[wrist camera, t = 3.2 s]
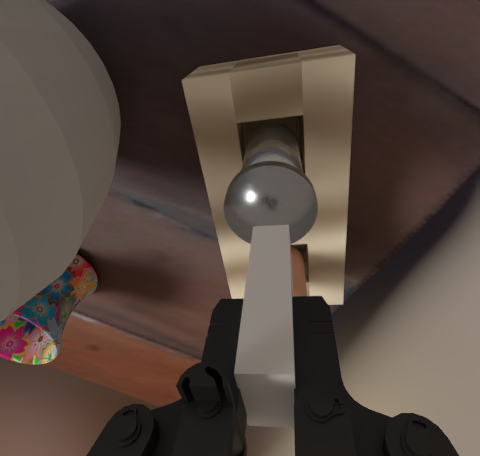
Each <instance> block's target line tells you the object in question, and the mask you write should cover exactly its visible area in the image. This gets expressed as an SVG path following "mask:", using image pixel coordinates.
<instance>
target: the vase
mask: <svg viewBox="0 0 480 456" xmlns="http://www.w3.org/2000/svg"><path fill="white" fill-rule="evenodd" d="M120 130H121V119H120V109H119V103H118V100H117V96H116V93H115V89H114V85H113V83H112V81H111V79H110V77H109V74H108V72H107V70H106V68H105V66H104V64H103V62H102V61H101V59H100V57H99V56H98V54H97V53H96V51H95V50H94V48H93V47H92V45H91V44H90V42H89V41H88V40H87V39H86V38H85V37H84V35H83V34H82V33H81V32H80V31H79V30H78V29H77V28H76V26H75V25H74V24H73V23H72V22H71V21H70V20H68V19H67V18H66V17H65V16H64V15H63V14H61V13H60V12H59V11H58V10H57V9H55V8H54V7H53V6H52V5H50V4H49V3H48V2H46V1H45V0H0V322H1V321H2V320H4V319H5V318H6V317H8V316H9V315H10V314H12V313H13V312H14V311H15V310H17V309H18V308H19V307H21V306H22V305H23V304H25V303H26V302H27V301H28V300H30V299H31V298H32V297H34V296H35V295H36V294H38V293H39V292H40V291H42V290H43V289H44V288H45V287H47V286H48V285H49V284H51V283H52V282H53V281H55V280H56V279H57V278H58V277H60V276H61V275H62V274H63V273H64V271H65V270H66V269H67V267H68V266H69V264H70V263H71V262H72V260H73V259H74V258H75V256H76V254H77V252H78V250H79V248H80V246H81V244H82V243H83V241H84V239H85V237H86V235H87V233H88V231H89V229H90V227H91V226H92V224H93V222H94V220H95V218H96V216H97V214H98V212H99V210H100V208H101V207H102V205H103V203H104V201H105V199H106V197H107V195H108V192H109V189H110V186H111V183H112V181H113V178H114V172H115V166H116V159H117V153H118V147H119V140H120Z"/></svg>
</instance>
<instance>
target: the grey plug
mask: <svg viewBox="0 0 480 456" xmlns="http://www.w3.org/2000/svg"><path fill="white" fill-rule="evenodd" d="M317 213H318V203H317V198H316V193H315V189H314V187H313V184H312V183H311V181H310V179H309V178H308V177H307V176H306V175H305V174H304V173H303V172H302V165H301V159H300V152H299V145H298V140H297V138H296V135H295V134H294V132H293V131H292V130H291V129H290V128H288V127H287V126H285V125H283V124H280V123H266V124H263V125H261V126H259V127H258V128H256V129H255V130H254V131H253V132H252V134H251V135H250V137H249V139H248V143H247V147H246V151H245V156H244V160H243V165H242V169H241V171H240V172H239V173H238V174H237V175H236V176H235V177H234V178H233V179H232V181H231V182H230V184H229V186H228V189H227V192H226V196H225V200H224V215H225V219H226V221H227V224H228V225H229V227H230V229H231V230H232V231H233V232H234V233H235V234H236V235H237V236H238V237H239V238H241V239H242V240H244V241H245V242H247V243H250V244H251V239H252V231H253V227H256V226H272V225H288V224H289V232H290V244H292V243H295V242H297V241H298V240H300V239H301V238H303V237H304V236H305V235H306V234H307V233H308V232H309V231H310V229H311V228H312V227H313V225H314V223H315V220H316V218H317Z"/></svg>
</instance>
